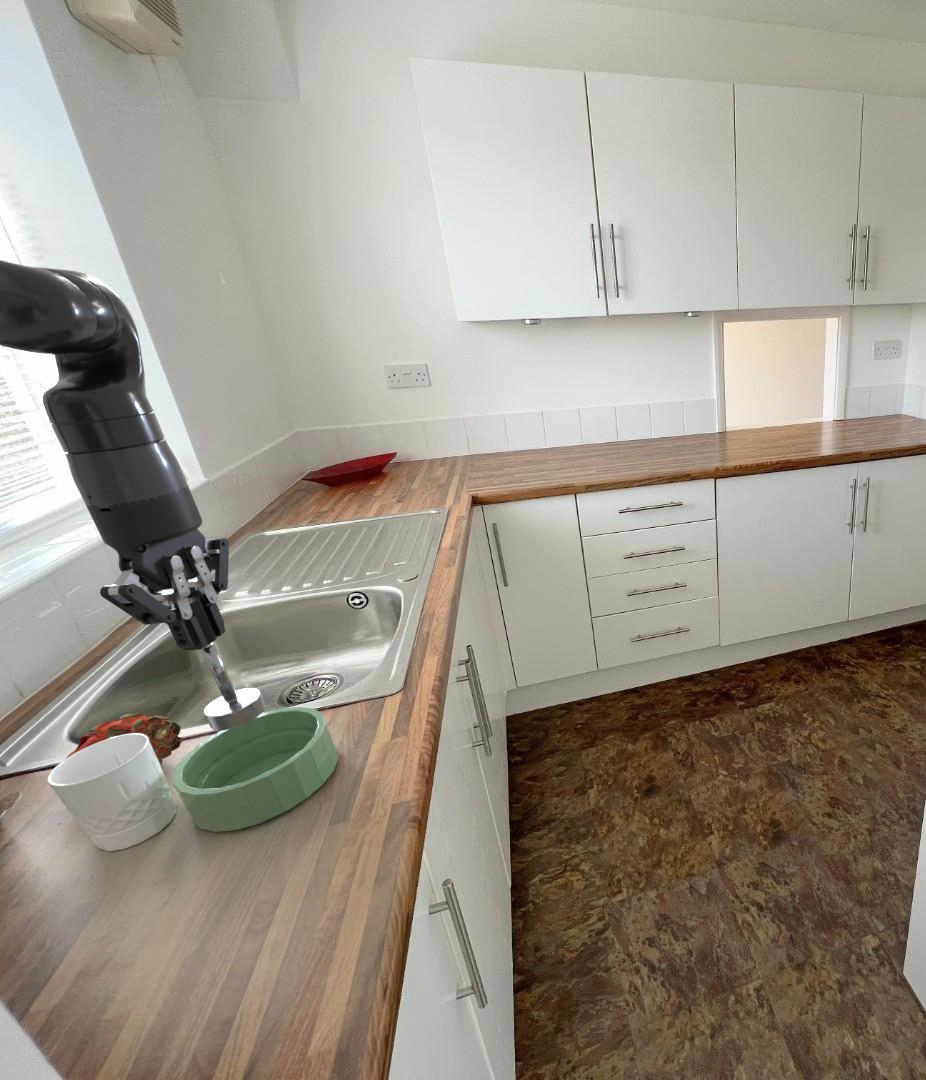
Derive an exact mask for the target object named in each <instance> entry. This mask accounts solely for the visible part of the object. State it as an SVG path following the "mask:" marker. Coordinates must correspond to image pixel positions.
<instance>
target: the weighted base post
mask: <svg viewBox="0 0 926 1080" xmlns="http://www.w3.org/2000/svg"><path fill="white" fill-rule="evenodd" d="M188 601H189V604H190V607H191V610H192V616H196V618H197V621H198V623H199V625H200V627H201V629H202V632H203V634H204V636H205V638H206V641H207V645H206V646H205V647H203V648H202V649H200V651H201V652H202V654H203V657H204V658H205V661H206V663H207V665H208V667H209V670H210V671H211V674H212V676H213V679H214V681H215V683H216V685H217V687H218V690H219V692H220V694H221V696H219V697H218V698H216V699H214V700H212V701H211V702H210V703H209V704H208V705H206V707H205V708H204V710H203V714H204V716H205V719H206V720H207V721H206V722H207V723H208V726H209V727H210V729H212V730H213V731H217V732H219V731H223V730H229V729H233V728H236V727H239V726H242V725H244V724H247V723H249V722H250V721H252V720H254V719H255V718H257V717H258V716H260V715H261V714H262V713H265V710H266V709H267V708H266V707H267V704H266V701H265V699H264V697H263V694H262V692H261V690H259V688H255V687H247V688H241V689H237V690H236V689H235V687H234V684H233V682H232V680H231V677H230V675H229V673H228V671H227V668H226V667H225V664H224V662H223V660H222V657H221V654H220V652H219V650H218V648H217V646H216V643H215V642H216V640H218V637H217V636H216V634H215V632H214V629H213V627H212V625H211V622H210V620H209V618H208V616H207V613H206V611H205V609H204V606H203V604H202V602H201V600H200V598H199V597H191V598H188Z"/></svg>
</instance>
